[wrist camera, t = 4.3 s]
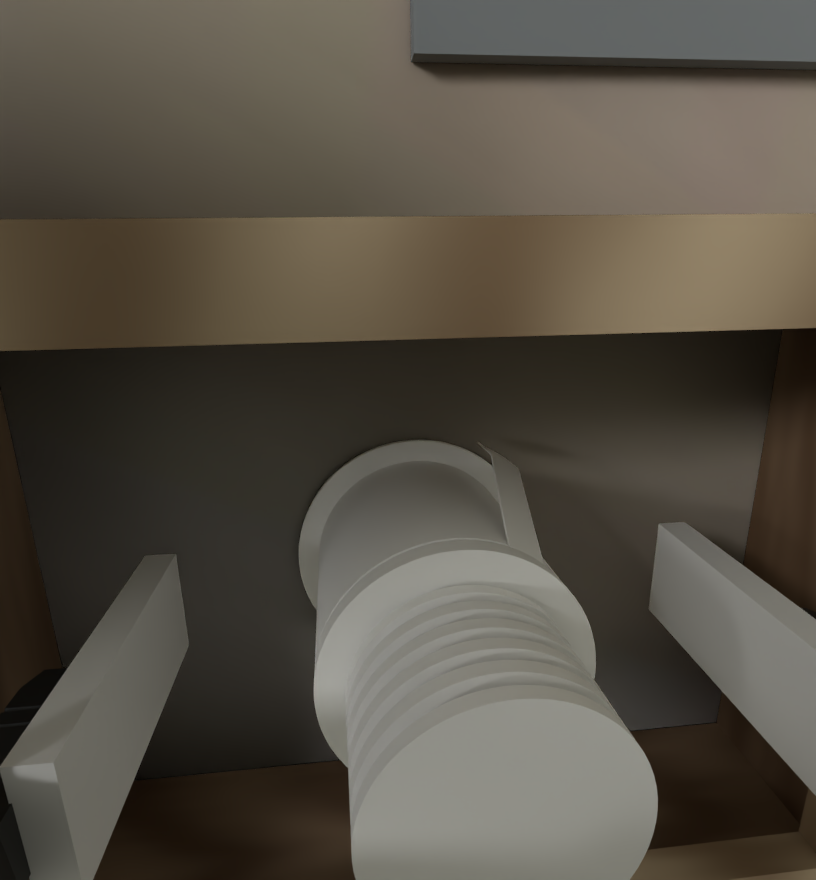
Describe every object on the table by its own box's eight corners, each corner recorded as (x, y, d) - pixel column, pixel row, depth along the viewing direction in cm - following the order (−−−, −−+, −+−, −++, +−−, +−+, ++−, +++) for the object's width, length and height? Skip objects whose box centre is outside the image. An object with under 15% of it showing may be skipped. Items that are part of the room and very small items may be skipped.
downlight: (442, 688, 19) (552, 1072, 10) (250, 605, 18) (159, 971, 8) (571, 488, 18) (841, 705, 9) (379, 380, 17) (449, 500, 7)
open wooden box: (61, 812, 19) (-58, 1041, 14) (-77, 240, 14) (-363, 222, 8) (738, 742, 22) (880, 912, 16) (832, 231, 16) (1092, 211, 11)
